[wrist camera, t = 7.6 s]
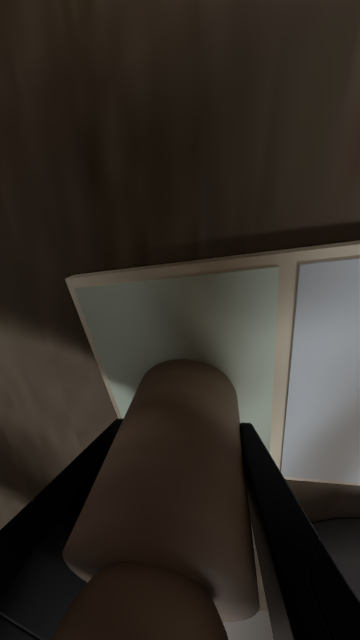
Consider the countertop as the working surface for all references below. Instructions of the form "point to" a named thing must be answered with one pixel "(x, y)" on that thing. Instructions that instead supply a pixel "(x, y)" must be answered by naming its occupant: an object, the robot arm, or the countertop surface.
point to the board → (246, 343)
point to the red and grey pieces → (343, 547)
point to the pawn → (167, 518)
